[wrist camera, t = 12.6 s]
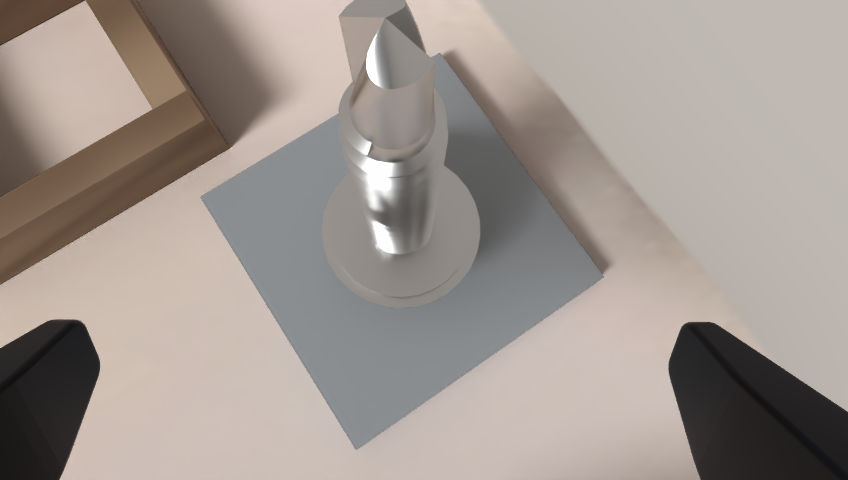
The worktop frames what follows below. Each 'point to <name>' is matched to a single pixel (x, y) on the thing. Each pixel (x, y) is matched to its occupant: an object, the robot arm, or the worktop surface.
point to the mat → (410, 327)
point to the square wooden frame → (106, 141)
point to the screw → (395, 169)
